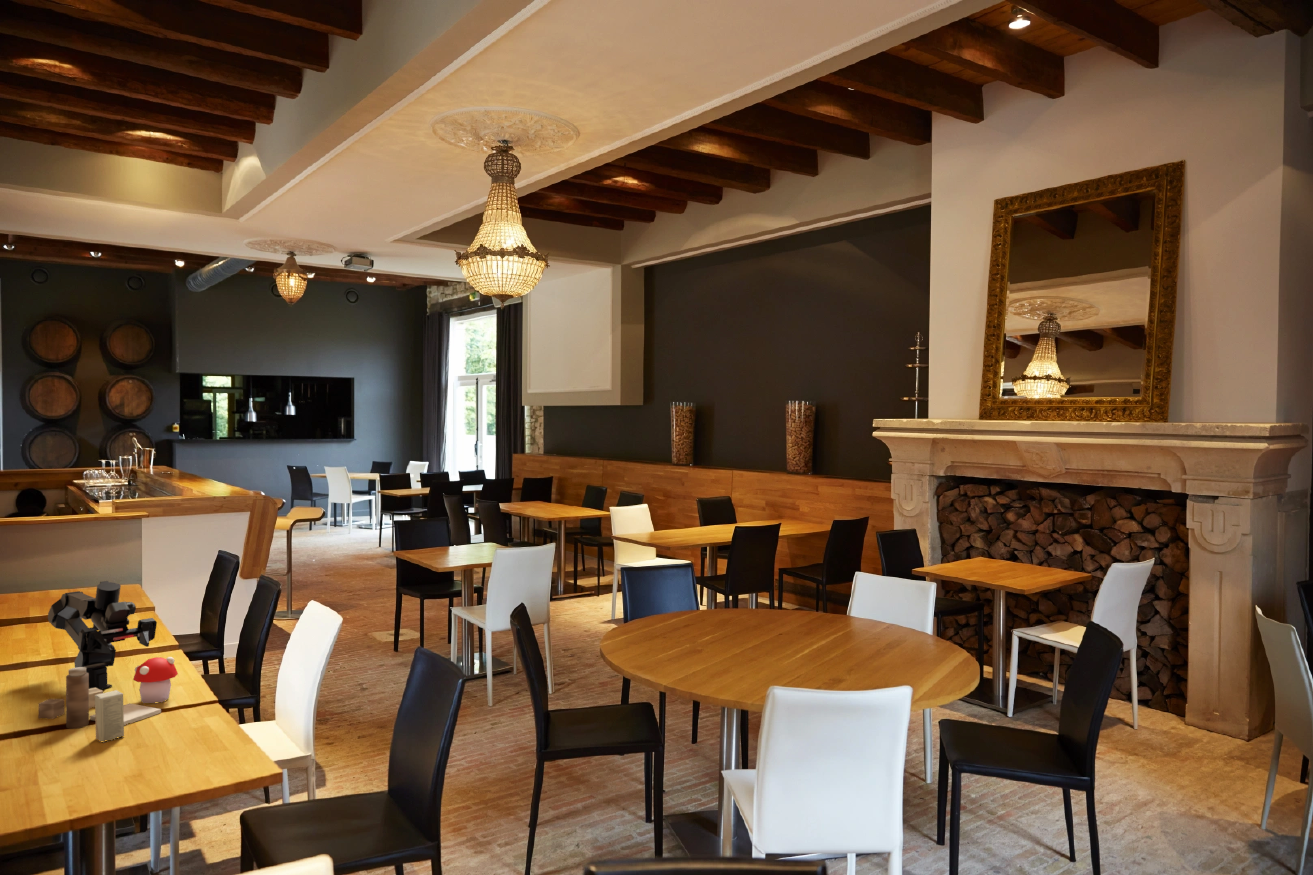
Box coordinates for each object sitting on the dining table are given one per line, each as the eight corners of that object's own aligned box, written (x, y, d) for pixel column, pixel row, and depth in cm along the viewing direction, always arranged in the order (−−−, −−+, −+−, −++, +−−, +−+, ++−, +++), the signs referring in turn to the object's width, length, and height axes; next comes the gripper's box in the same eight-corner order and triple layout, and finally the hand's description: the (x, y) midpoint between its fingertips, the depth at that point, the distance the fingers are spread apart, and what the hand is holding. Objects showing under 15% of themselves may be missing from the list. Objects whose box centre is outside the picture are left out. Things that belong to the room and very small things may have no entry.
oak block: (79, 705, 235) (79, 690, 235) (95, 701, 239) (95, 687, 239) (86, 709, 232) (86, 694, 232) (103, 705, 236) (103, 690, 236)
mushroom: (127, 707, 234) (127, 663, 234) (139, 695, 244) (140, 653, 244) (170, 704, 237) (170, 661, 236) (181, 692, 247) (181, 651, 247)
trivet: (90, 719, 224) (90, 715, 224) (129, 706, 234) (129, 703, 234) (122, 726, 220) (122, 722, 220) (160, 712, 230) (160, 709, 230)
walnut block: (38, 718, 225) (38, 703, 225) (49, 713, 229) (49, 698, 229) (53, 718, 225) (53, 703, 224) (64, 713, 229) (64, 698, 228)
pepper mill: (61, 726, 219) (61, 670, 218) (80, 720, 223) (80, 665, 223) (74, 729, 217) (74, 672, 217) (93, 723, 221) (93, 667, 221)
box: (118, 733, 215) (118, 689, 214) (124, 737, 212) (124, 692, 212) (94, 739, 211) (94, 694, 210) (100, 743, 208) (100, 697, 208)
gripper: (73, 602, 234) (94, 627, 225) (147, 592, 249) (170, 615, 239) (69, 638, 236) (89, 665, 227) (142, 626, 251) (164, 651, 242)
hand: (129, 648), depth 234 cm, fingers open, 9 cm apart
